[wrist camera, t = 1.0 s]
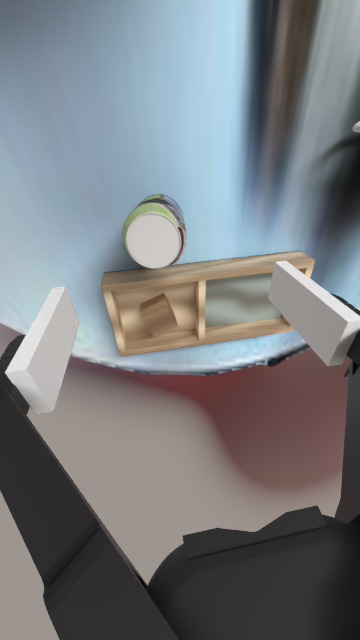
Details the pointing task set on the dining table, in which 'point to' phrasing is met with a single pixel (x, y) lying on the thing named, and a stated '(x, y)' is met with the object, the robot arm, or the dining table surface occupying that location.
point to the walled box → (199, 301)
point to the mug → (356, 127)
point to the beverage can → (155, 232)
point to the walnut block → (158, 315)
